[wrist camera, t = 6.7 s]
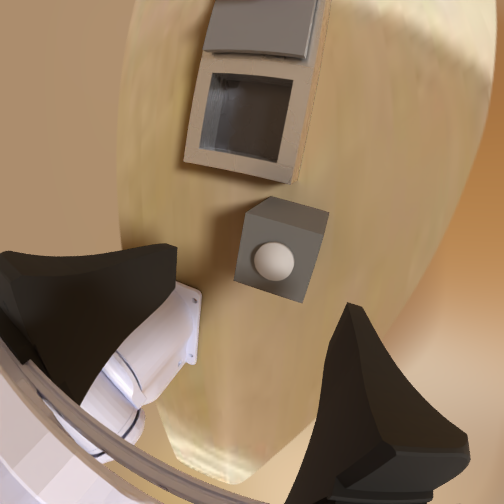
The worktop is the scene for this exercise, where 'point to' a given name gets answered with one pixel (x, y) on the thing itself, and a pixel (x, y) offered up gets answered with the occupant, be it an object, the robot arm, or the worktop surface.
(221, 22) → the shutter
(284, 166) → the socket
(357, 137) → the worktop surface
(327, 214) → the grey block
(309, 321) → the worktop surface
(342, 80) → the worktop surface
